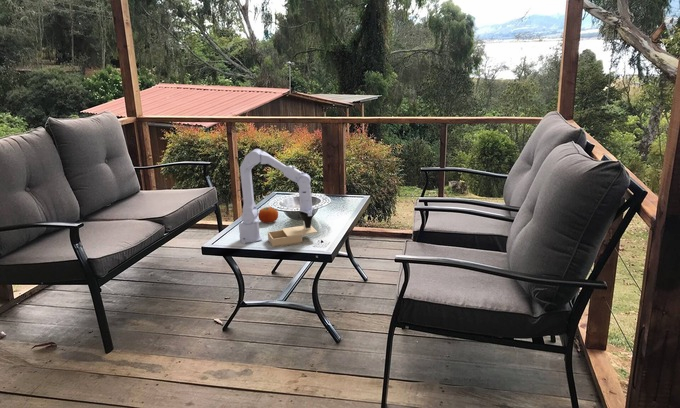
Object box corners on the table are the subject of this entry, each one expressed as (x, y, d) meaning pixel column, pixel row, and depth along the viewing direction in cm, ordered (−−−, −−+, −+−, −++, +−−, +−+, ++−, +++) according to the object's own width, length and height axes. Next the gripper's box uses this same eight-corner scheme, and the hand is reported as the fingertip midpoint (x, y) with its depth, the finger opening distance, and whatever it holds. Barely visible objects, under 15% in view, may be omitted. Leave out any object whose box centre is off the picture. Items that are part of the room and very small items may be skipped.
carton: (273, 247, 235) (272, 239, 234) (268, 239, 246) (267, 232, 245) (302, 243, 239) (301, 235, 238) (296, 235, 250) (295, 228, 249)
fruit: (270, 218, 282) (269, 204, 280) (282, 221, 275) (281, 207, 273) (255, 222, 275) (253, 208, 273) (266, 226, 268) (265, 211, 266)
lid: (287, 237, 235) (286, 227, 234) (281, 229, 247) (281, 220, 246) (317, 232, 240) (316, 223, 239) (310, 225, 251) (309, 216, 250)
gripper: (317, 201, 235) (319, 229, 239) (309, 195, 248) (311, 221, 252) (303, 203, 233) (305, 232, 237) (295, 197, 246) (297, 223, 250)
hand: (307, 226), depth 244 cm, fingers closed on lid, 2 cm apart
